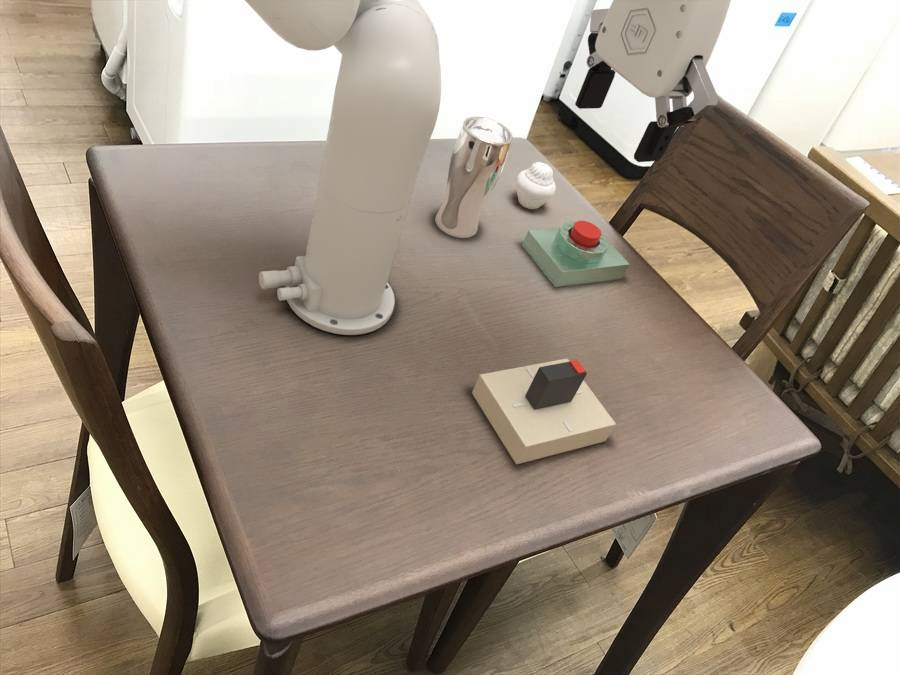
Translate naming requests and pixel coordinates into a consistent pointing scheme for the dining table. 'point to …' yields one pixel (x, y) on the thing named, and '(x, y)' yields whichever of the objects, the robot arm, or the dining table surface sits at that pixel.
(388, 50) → the robot arm
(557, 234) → the housing
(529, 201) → the muffin
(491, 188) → the beer glass
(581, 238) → the button
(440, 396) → the dining table surface
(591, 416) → the dial panel
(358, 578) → the dining table surface
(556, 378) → the knob
